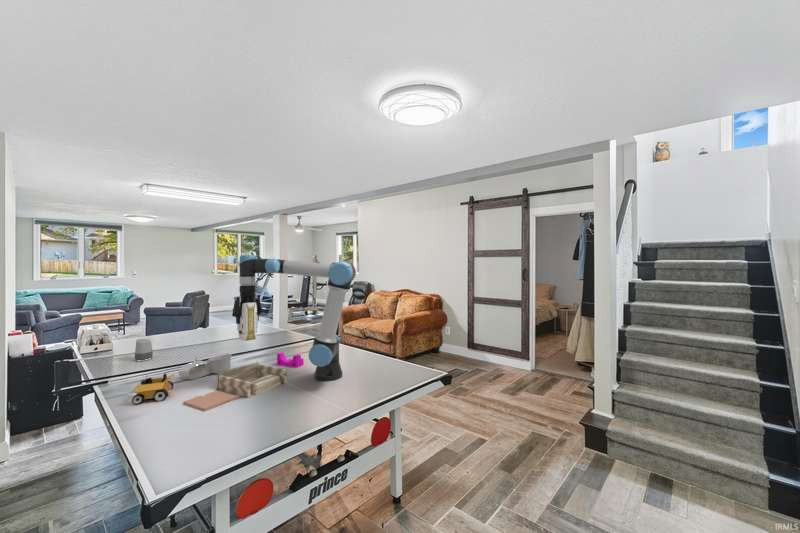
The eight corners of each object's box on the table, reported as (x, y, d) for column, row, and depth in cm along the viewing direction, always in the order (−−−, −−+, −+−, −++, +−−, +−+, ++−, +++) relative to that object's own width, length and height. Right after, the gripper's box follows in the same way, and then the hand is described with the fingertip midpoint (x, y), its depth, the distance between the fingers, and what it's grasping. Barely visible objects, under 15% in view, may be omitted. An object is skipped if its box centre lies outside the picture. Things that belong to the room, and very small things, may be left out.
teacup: (241, 368, 201) (238, 351, 201) (225, 377, 186) (223, 359, 186) (222, 370, 202) (219, 353, 202) (205, 379, 187) (202, 361, 187)
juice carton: (252, 336, 183) (251, 301, 183) (258, 339, 176) (258, 302, 176) (237, 339, 177) (236, 302, 177) (243, 341, 171) (243, 303, 171)
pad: (238, 398, 159) (238, 396, 159) (205, 411, 145) (204, 408, 145) (217, 392, 166) (217, 390, 166) (183, 403, 152) (183, 401, 152)
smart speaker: (145, 362, 219) (145, 340, 220) (131, 362, 220) (131, 340, 220) (156, 358, 229) (156, 337, 229) (142, 358, 229) (142, 337, 229)
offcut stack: (280, 385, 177) (280, 376, 177) (255, 396, 162) (255, 385, 162) (270, 383, 180) (270, 374, 180) (245, 393, 165) (245, 383, 165)
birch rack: (287, 382, 180) (286, 367, 180) (248, 397, 159) (248, 380, 159) (257, 376, 191) (256, 361, 191) (217, 389, 170) (217, 373, 170)
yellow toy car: (140, 394, 165) (139, 372, 165) (176, 389, 171) (176, 368, 171) (129, 405, 151) (129, 381, 151) (170, 400, 157) (170, 377, 157)
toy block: (303, 365, 211) (303, 353, 211) (296, 368, 206) (296, 356, 206) (284, 363, 217) (284, 351, 217) (277, 366, 211) (277, 353, 211)
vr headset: (205, 373, 195) (202, 353, 196) (214, 373, 191) (211, 352, 191) (179, 381, 183) (176, 360, 184) (188, 381, 178) (185, 359, 179)
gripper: (259, 283, 188) (260, 325, 188) (223, 285, 169) (223, 331, 169) (269, 284, 184) (269, 326, 184) (233, 286, 166) (233, 332, 166)
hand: (247, 328), depth 177 cm, fingers closed on juice carton, 9 cm apart
